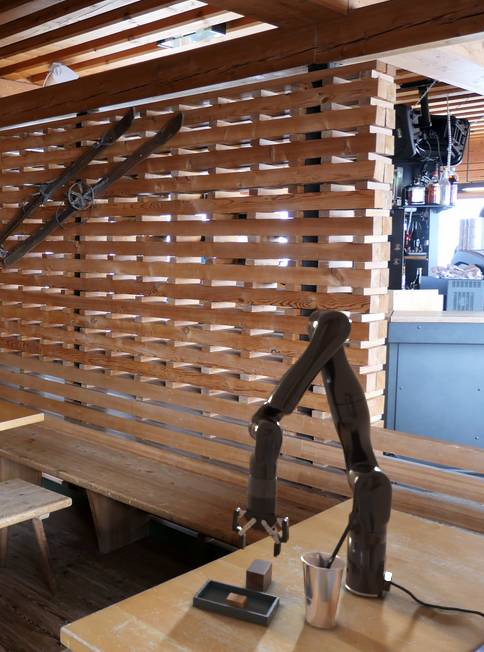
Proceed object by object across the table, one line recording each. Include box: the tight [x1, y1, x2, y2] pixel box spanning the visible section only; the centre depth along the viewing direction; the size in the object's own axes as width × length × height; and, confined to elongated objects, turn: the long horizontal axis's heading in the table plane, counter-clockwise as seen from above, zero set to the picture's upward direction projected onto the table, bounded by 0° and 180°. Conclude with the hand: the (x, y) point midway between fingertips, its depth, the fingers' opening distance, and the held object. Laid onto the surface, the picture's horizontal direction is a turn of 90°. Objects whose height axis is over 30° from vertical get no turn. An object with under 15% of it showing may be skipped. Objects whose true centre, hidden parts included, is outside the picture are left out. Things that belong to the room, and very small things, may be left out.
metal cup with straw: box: [299, 509, 359, 630], centre depth 176 cm, size 11×11×30 cm
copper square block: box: [226, 593, 247, 609], centre depth 185 cm, size 4×4×2 cm
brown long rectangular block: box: [245, 558, 273, 593], centre depth 196 cm, size 4×9×6 cm, turn 148°
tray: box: [192, 578, 281, 627], centre depth 185 cm, size 18×12×2 cm
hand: (259, 552), depth 195 cm, fingers open, 8 cm apart
